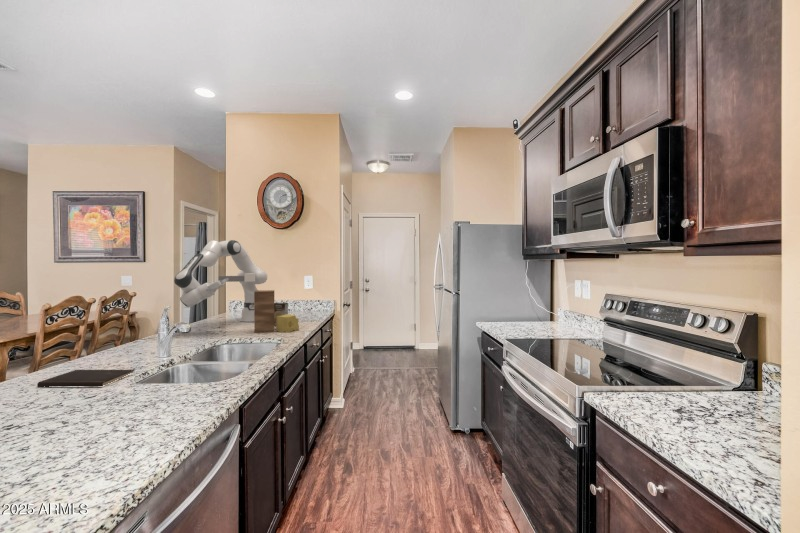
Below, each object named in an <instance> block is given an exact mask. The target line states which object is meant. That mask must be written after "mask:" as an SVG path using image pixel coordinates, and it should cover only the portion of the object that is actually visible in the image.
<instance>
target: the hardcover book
mask: <svg viewBox="0 0 800 533" xmlns="http://www.w3.org/2000/svg"><path fill="white" fill-rule="evenodd" d="M134 371H135V369H75V370H71V371H67V372H66V373H65V372H64V373H62V374H59V375H57V376H53V377H50V378H47V379H43V380H41V381H38V382H37V385H36V386H37V388H50V387H49V386H103V385H106V384H108V383H111V382H113V381H115V380H117V379H120V378H122V377H124V376H126V375H128V374H130V373H133V374H134ZM113 383H114V382H113ZM111 384H112V383H111ZM44 386H45V387H44ZM106 386H107V385H106Z"/></svg>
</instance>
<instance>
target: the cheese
mask: <svg viewBox="0 0 800 533" xmlns="http://www.w3.org/2000/svg"><path fill="white" fill-rule="evenodd" d="M275 329H276V332H280V333H281V332H283V333H291V332H293V331H295V330H296V331H299V330H300V325H299V318H297V316H296V315H295V314H289V313H288V314H286V315H282V316H277V318H276V326H275Z"/></svg>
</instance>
